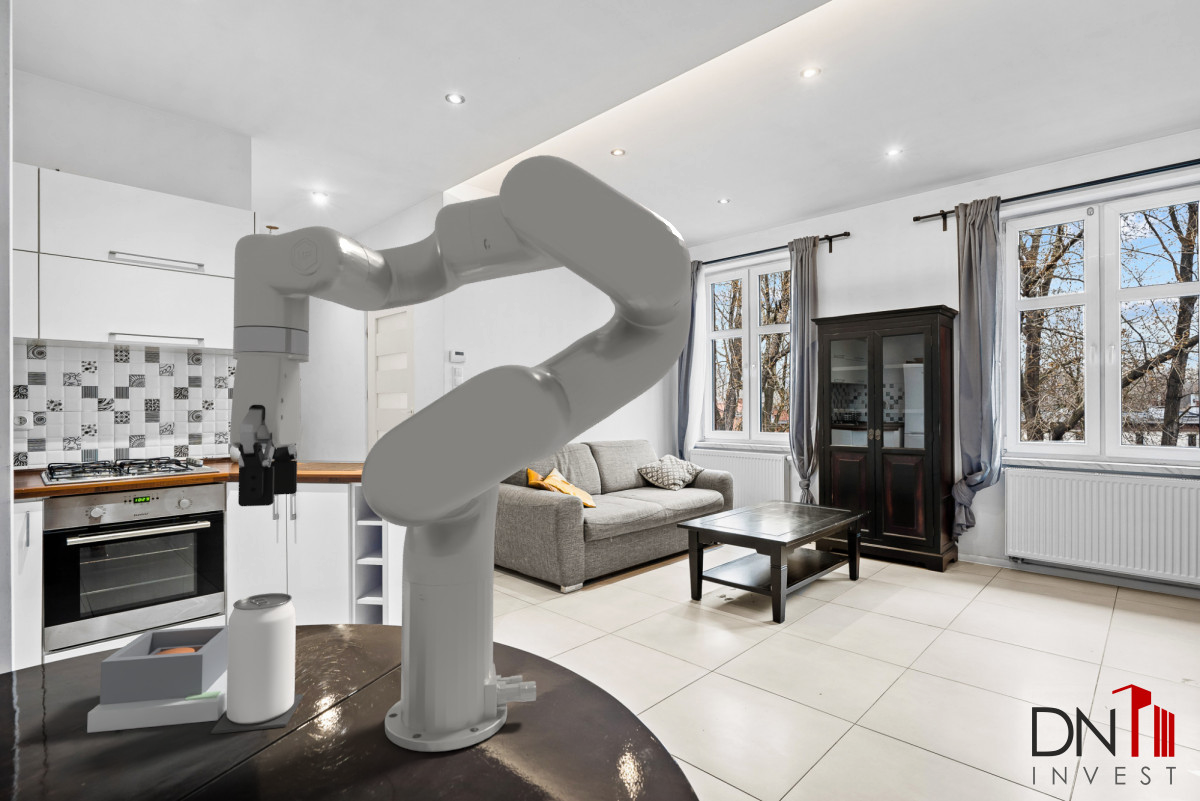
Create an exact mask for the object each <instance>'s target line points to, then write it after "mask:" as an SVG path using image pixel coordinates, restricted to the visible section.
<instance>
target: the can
mask: <svg viewBox="0 0 1200 801" xmlns="http://www.w3.org/2000/svg"><path fill="white" fill-rule="evenodd" d="M292 599H293V597H292V595H291V594H288V593H283V592H281V593H280V592H273V593H272V592H270V593H260V594H253V595H251V596H246V597H244V598H240V599H238V600H237V601H235V602H234V603H233V605H232V606H233V610H232V612H231V613H230V616H229V618H228V622H227V623H228V624H227V625H228V655H227V709H226V712H227V717H228V719H230V720H231V721H232V722H233V723H236V724H241V725H251V724H259V723H264V722H267V721H270V720H273V719H275V718H278V717H280V716H282V715H283V714H285V713H286V712H287V711H288V710H289V709H290V708H291V707H292V705H293V704H294V695H295V687H296V686H295V684H296V681H295V680H296V679H295V678H296V630H297V626H296V620H297V618H296V609H295V606H294V604H293V602H292Z"/></svg>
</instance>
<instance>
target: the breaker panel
mask: <svg viewBox="0 0 1200 801" xmlns="http://www.w3.org/2000/svg"><path fill="white" fill-rule="evenodd" d="M175 648H193V649H194V650H195V652H189V653H175V654H161V655H156V654H158V653H160V652H163V651H166V650H170V649H175ZM227 655H228V624H226V625H225V624H224V625H213V626H199V627H198V626H197V627H180V628H168V629H167V628H166V629H164V628H163V629H149V630H147V631H145V632H144V633H142V634H141V635H138V637H136V638H135V639H133V640H131V641H130V642H129V643H127V644H126V645H124V646H123V647H121V648H119V649H118V650H117V651H115V652H114V653H112V654H111V655H109V656H108V657H107V658H105V659H104V660H102V661H101V662H100V689H99V690H100V692H99V703H98V704H97V705H96V706H95V707H93V709H90V711H88V712H87V730H86V732H87V734H88V733H98V732H109V731H117V730H118V731H119V730H130V729H141V728H149V727H161V726H171V725H172V726H173V725H182V724H191V723H192V724H193V723H201V722H211V721H219V719H221V718H222V716H223V714H225V713H226V712H227Z"/></svg>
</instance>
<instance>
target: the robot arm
mask: <svg viewBox="0 0 1200 801" xmlns="http://www.w3.org/2000/svg"><path fill="white" fill-rule="evenodd" d="M434 221H435V222H434V230H433V232H431V233H430V234H429V236H427V237H425V238H423V239H421V240H420V241H419V240H418V241H417V242H414V243H413V242H412V243H410V244H406V245H402V246H395V247H391V248H384V249H375V250H374V249H372V248H370V247H368V246H367V245H364V244H362V243H361V242H359V241H357V240H355V239H353V238H352V237H349V236H348V235H346V234H343V233H342V232H340V231H338V230H336V229H335V228H334V229H333V228H331V227H328V226H327V227H326V226H321V225H319V226H318V225H315V226H309V227H302V228H299V229H295V230H292V231H288V232H285V233H280V234H271V233H251V234H247V235H244V236H242V237H240V238H239V239H238V240H237V242H236V244H235V247H234V272H233V273H234V277H233V278H234V279H233V280H234V281H233V282H234V284H233V289H234V291H233V296H234V297H233V333H232V334H233V335H232V336H233V340H232V344H233V345H232V350H233V351H232V356H233V357H232V359H233V360H237V362H236V366H235V371H234V380H233V387H232V388H233V389H232V396H231V397H232V398H231V412H230V413H231V414H230V430H229V443H230V445H231V447H234V448H235V449H238V452H240V455H239V457H238V496H237V497H238V499H237V500H238V503H237V504H238V505H239V506H240V507H262V506H263V507H264V506H265V507H266V506H267V507H268V506H271V505H273V504H274V503H275V496H277V495H280V496H281V495H294V494H296V493H297V490H298V489H297V488H298V487H297V486H298V460H297V459H298V451H297V447H296V445H297V443H298V442H299V440H300V436H301V421H302V420H301V419H302V417H301V416H302V414H301V412H302V410H301V409H302V405H301V404H302V403H301V397H302V396H301V380H302V379H301V370H300V369H301V368H300V364H301V363H303V364H304V363H308V362H310V361H309V356H310V354H309V353H310V297H313V298H317V299H320V300H323V301H327V302H331V303H334V304H337V305H341V306H342V307H343V306H344V307H346V308H349V309H353V310H355V311H362V312H374V311H375V312H376V311H377V312H378V311H384V310H390V309H396V308H403V307H408V306H414V305H419V304H423V303H426V302H429V301H433V300H435V299H438V298H440V297H443V296H445V295H447V294H450V293H452V292H455V291H456V290H458V289H459V288H460V287H462V286H464V285H470V284H475V283H478V282H485V281H491V280H495V279H501V278H507V277H512V276H518V275H523V274H530V273H536V272H541V271H547V270H553V269H559V268H562V267H564V268H567V269H568V270H570V271H571V272H572V273H574V274H575V275H577V276H578V277H579V278H582V279H583V280H584V281H586V282H588V283H589V284H590V285H592V286H593V287H595V288H596V289H598V290H600V291H601V292H602V293H603V294H605V295H606V296H608V297H609V299H610V300H611V302H612V304H613V306H614V313H613V315H612V316H611V318H610V319H609V320H608V321H607V322H606V323H604V325H602V326H601V327H599V328H596V329H595V330H593V331H591V332H589V333H587V334H585V335H584V336H582V337H580V338H578V339H577V340H575V341H574V342H572V343H571V344H570V345H568V346H567V347H566V348H563V349H562V350H561V351H558V352H557V353H556V354H554V355H552V356H550V357H549V358H548V359H546V360H545V361H544V360H543V361H542V362H540V363H538V364H536V365H535V366H532V367H529V366H526V365H520V364H506V365H499V366H494V367H493V368H489V369H487V370H485V371H482V372H480V373H478V374H476V375H474V376H472V377H470V378H468V379H467V380H465V381H464V382H462V383H460V384H459V385H458V386H455V388H453V389H451V390H450V391H448V392H447V393H445V394H443V395H442V396H440V397H438V398H437V399H436V400H434V401H432V402H431V403H429V404H428V405H426V406H425V407H423V408H421V409H420V410H419V411H417V412H415V413H414V414H413V415H411V416H409V417H407V419H405V420H403V421H401V422H400V423H399V424H398V423H397V425H395V426H394V427H392V428H391V429H390V430H388V431H387V432H386V433H384V434H383V435H382V436H381V437H380V438H379V439H378V440H377V441H376V442H375V444H374V445H372V446H371V447H372V448H371V449H370V450H369V452H368V454H367V455H366V457H365V460H364V463H363V467H362V471H361V476H360V477H361V478H360V479H361V489H362V490H361V491H362V494H363V497H364V499H365V502H366V504H367V505H368V507H369V508H370V509H371V510H372V512H373V513H374V514H375V515H377V516H378V517H379V518H380V519H382V520H384V521H385V522H388V523H390V524H391V525H395V526H398V527H405V528H406V530H405V535H404V539H403V540H404V542H403V547H402V548H403V550H402V573H401V574H402V576H401V577H402V579H401V580H402V581H401V582H402V584H401V650H400V651H401V657H400V658H401V659H400V661H401V662H400V664H401V665H400V666H401V667H400V668H401V669H400V670H401V671H400V672H401V674H400V675H401V677H400V686H401V687H400V700H399V701H397V702H396V703H394V704H393V705H392V707H391V708H389V709H388V711H387V713H386V715H385V717H384V732H385V735H386V737H387V738H388V740H390V742H392V743H393V744H395V745H397V746H398V747H401V748H404V749H406V750H407V749H408V750H410V751H415V752H416V751H417V752H426V753H427V752H428V753H433V752H434V753H435V752H438V753H439V752H448V751H453V750H459V749H463V748H467V747H470V746H473V745H475V744H479V743H480V742H483V741H484V740H487V739H488V738H490V737H492V736H493V735H495V733H497V732H498V731H500V729H501V728H502V727H503V726H504V724H505V722H506V720H507V716H508V703H514V702H519V703H522V702H523V703H524V702H534V701H536V700H537V685H536V684H537V682H536V680H533V681H523V680H524V679H523V675H521V674H519V675H511V676H505V677H502V674H497V670H496V664H495V663H494V572H495V538H496V537H495V536H496V535H495V534H496V533H495V532H496V521H497V520H496V519H497V510H498V504H499V493H500V485H501V482H503V481H505V480H506V479H508V478H509V477H511V476H512V475H514V474H516V473H517V472H519V471H521V470H523V469H524V468H526V467H528V466H529V465H531V464H533V463H538V462H540V461H543V460H546V459H547V458H550V457H551V456H554V455H555V454H556V453H558V452H559V451H560V450H561V449H562V448H564V447H565V446H566V445H568V444H569V443H570V442H571V441H573V440H575V439H577V437H579V436H580V435H582V434H584V433H585V432H586V431H588V430H590V429H591V428H593V427H595V426H596V425H597V424H599V423H601V422H602V421H603V420H605V419H607V418H609V417H610V416H611V415H613V414H614V413H616V412H617V411H619V410H620V409H621V408H623V407H625V406H626V405H628V404H629V403H631V402H632V401H634V400H635V399H637V398H639V397H640V396H642V395H643V394H644V393H646V392H648V391H649V390H650V389H652V388H653V387H654V386H655V385H656V384H658V383H659V382H660V381H661V380H662V379H663V378H664V377H665V376H666V375H667V374H668V373H669V372H670V370H672V369H673V367H674V366H675V365H676V363H677V361H678V360H679V358H680V357H681V355H682V353H683V350H684V348H685V346H686V343H687V341H688V338H689V334H690V327H691V319H692V318H691V317H692V316H691V315H692V301H691V300H692V296H691V285H692V280H691V279H692V277H691V275H692V262H691V261H692V260H691V254H690V252H689V251H690V250H689V247H688V245H687V243H686V241H685V240H684V237H683V236H682V234H680V232H679V231H678V230H677V229H676V228H675V227H674V226H673V225H672V223H670V222H669V221H667V220H666V219H664V218H663V217H661V216H660V215H659V214H657V213H656V212H654V211H652V210H651V209H649V208H648V207H647V206H644V205H643V204H641V203H640V202H638V201H636V200H634V199H633V198H631V197H630V196H628V195H626V194H624V193H623V192H622V191H620V190H618V189H617V188H615V187H614V186H612V185H611V184H609V183H607V182H605V181H604V180H602V179H600V178H599V177H598V176H596V175H594V174H592V173H591V172H589V171H588V170H586V169H584V168H583V167H581V166H579V165H577V164H576V163H574V162H572V161H571V160H568V159H564V158H562V157H560V156H556V155H550V154H549V155H548V154H547V155H544V154H543V155H542V154H541V155H537V156H531V157H528V158H525V159H522V160H521V161H519V162H518V163H517V164H515V165H514V166H513V167H512V168H511V169H510V170H509V171H508V172H507V174H506V175H505V177H504V178H503V180H502V182H501V186H500V189H499V194H498V195H493V196H487V197H482V198H477V199H470V200H465V201H461V202H460V201H459V202H455V203H450V204H447V205H445V206H443V207H441V208H440V209H439V211H438V212H437V214H436V217H435V220H434Z"/></svg>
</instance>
